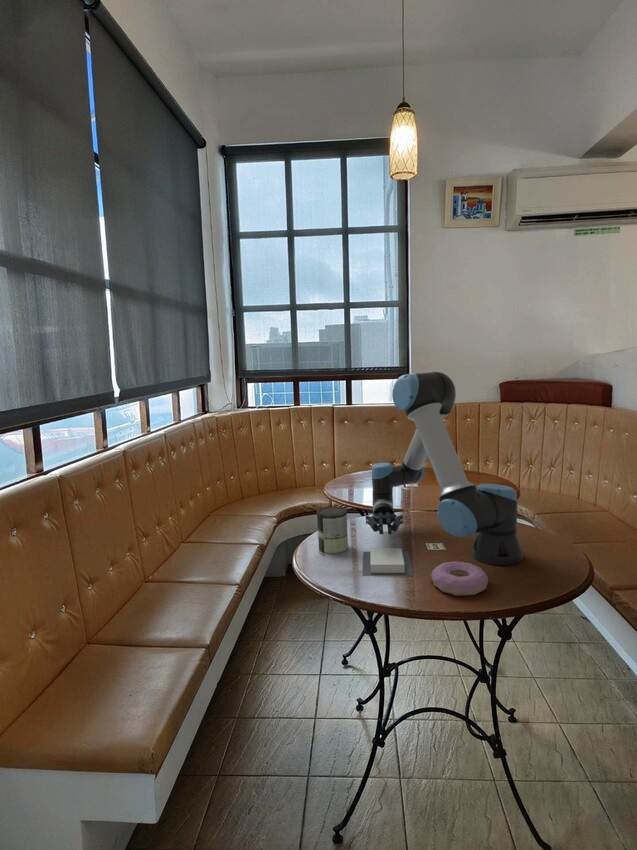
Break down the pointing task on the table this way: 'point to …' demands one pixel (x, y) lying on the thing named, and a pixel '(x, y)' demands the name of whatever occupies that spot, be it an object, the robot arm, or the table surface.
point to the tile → (387, 560)
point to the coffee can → (332, 530)
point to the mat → (368, 573)
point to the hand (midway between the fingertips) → (385, 535)
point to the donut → (459, 578)
